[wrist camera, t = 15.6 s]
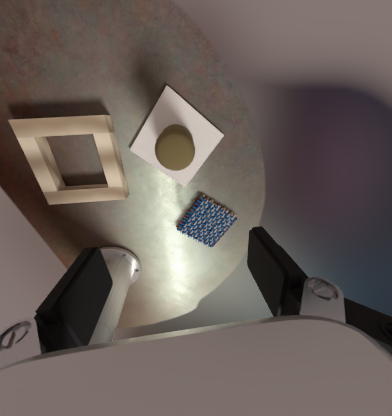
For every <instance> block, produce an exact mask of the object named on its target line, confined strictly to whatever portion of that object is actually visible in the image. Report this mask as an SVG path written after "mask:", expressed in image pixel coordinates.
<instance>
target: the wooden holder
mask: <svg viewBox="0 0 392 416" xmlns="http://www.w3.org/2000/svg"><path fill="white" fill-rule="evenodd" d="M9 123H10V125H11V127H12V129H13V131H14V133H15V135H16V137H17V139H18V141H19V143H20V145H21V147H22V150H23V152H24V154H25V156H26V158H27V160H28V162H29V164H30V166H31V168H32V170H33V172H34V175H35V177H36V179H37V181H38V183H39V185H40V187H41V189H42V191H43V193H44V195H45V197H46V199H47V202H48V204H49V205H53V204H66V203H79V202H93V201H106V200H119V199H126V198H127V197H128V195H129V190H128V186H127V182H126V178H125V174H124V169H123V165H122V161H121V157H120V153H119V149H118V145H117V140H116V136H115V132H114V128H113V124H112V120H111V116H110V115H93V116H73V117H54V118H35V119H15V120H9ZM78 134H93V135H94V139H95V142H96V146H97V149H98V153H99V156H100V159H101V163H102V166H103V170H104V173H105V176H106V180H107V183H108V184H94V185H80V186H65V183H64V181H63V178H62V176H61V174H60V171H59V169H58V166H57V164H56V161H55V159H54V156H53V154H52V152H51V149H50V147H49V144H48V142H47V139H46V137H45V136H60V135H78Z"/></svg>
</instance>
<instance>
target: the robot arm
mask: <svg viewBox="0 0 392 416" xmlns="http://www.w3.org/2000/svg"><path fill="white" fill-rule="evenodd" d="M247 264H248V268H249V270H250V272H251V274H252V276H253V278H254V280H255V281H256V283H257V285H258V287H259V289H260V291H261V293H262V295H263V297H264V299H265V301H266V303H267V304H268V307H269V309H270V310H271V312H272V314H273V316H274V317H271V318H262V319H255V320H247V321H241V322H235V323H227V324H220V325H214V326H207V327H200V328H194V329H187V330H181V331H174V332H168V333H162V334H156V335H149V336H142V337H136V338H130V339H124V340H118V341H112V339H113V336H114V333H115V330H116V327H117V324H118V320H119V317H120V314H121V311H122V308H123V305H124V301H125V298H126V295H127V292H128V289H129V285H130V284H132V283H133V282H135V281H136V280H137V278H138V277H139V275H140V271H141V265H140V262H139V260H138V258H137V257H136V256H135V255H134V254H132V253H131V252H130V251H128V250H126V249H123V248H119V247H103V248H99V249H98V248H97V247H89V248H85V249H84V250H83V251H82V252H81V254H80V255H79V256H78V257H77V259H76V260H75V261H74V263H73V264H72V265H71V266H70V268H69V269H68V270H67V272H66V273H65V274H64V275H63V277H62V278H61V279H60V281H59V282H58V283H57V285H56V286H55V287H54V288H53V290H52V291H51V292H50V294H49V295H48V296H47V297H46V299H45V300H44V301H43V302H42V304H41V305H40V306H39V308H38V309H37V310H36V313H37V314H36V316H35V317H34V318H24V319H21V320H18V321H16V322H14V323H12V324H11V325H9V326H8V327H6V328H5V329H4V330H3V331H1V332H0V416H392V317H390V316H388V315H385V314H383V313H380V312H378V311H376V310H373V309H371V308H368V307H366V306H363V305H361V304H358V303H356V302H353V301H351V300H349V299H346V298H344V297H343V294H342V292H341V290H340V289H339V288H338V287H337V286H336V285H335V284H333V283H332V282H330V281H328V280H326V279H324V278H320V277H310V278H309V277H308V276H307V275H306V274H305V273H304V272H303V271H302V270H301V268H300V267H299V266H298V265H297V264H296V263H295V262H294V261H293V260H292V258H291V257H290V256H289V255H288V254H287V253H286V252H285V250H284V249H283V248H282V247H281V246H279V245H278V244H277V243H276V242H275V241H274V240H273V238H272V237H271V236H270V235H269V234H268V233H267V232H266V230H265V229H264V228H263V227H253V228H252V230H250V231H249V243H248V259H247Z"/></svg>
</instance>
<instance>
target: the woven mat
mask: <svg viewBox="0 0 392 416" xmlns="http://www.w3.org/2000/svg"><path fill="white" fill-rule="evenodd" d="M204 197H205V194H203V195H201V196H199V199H198V198H197V200H198V201H197V202H196V201H195V205H194V204H193V207H191V208H190V209H191V210H188V211H189V213H186V214H187V216H186V215H185V216H184V217H185V218H183V219H182V220H183V221H180V222H181V224H180V223H179V224H178V225H179V226H176V227H178V228H177V230H179V231H180V232H182V234H183V233H185V234H186V235H188V237H189V236H191V237H190V238H192V237H193V239H197V240H198V242H199V241H200V243H202V242H203V243H204V245H205V244H206V246H207V245H208V247H213V246H214V245H215V244H216V242H217V241H218V240H219V239H220V238H221V237H222V236H223V235H224V233H225V232H226V231H227V230H228V228H230V225H231V226H232V224H233V223H234V221H235V220H237V218H236V217H235V216H236V214H235V215H234V216H233V212H230V213H228V211H229V209H227V210H226V207H225V208H222V209H221V206H220V205H219V206H217V204H216V203H213V202H214V200H211V201H208V199H209V197H208V198H207V199H206V198H204ZM201 200H203V201H201ZM200 203H201V204H200ZM206 203H208V204H206ZM211 205H212V206H211ZM198 206H199V207H198ZM204 206H205V207H204ZM208 208H209V209H208ZM196 209H197V210H196ZM225 210H226V211H225ZM206 211H207V212H206ZM213 211H214V212H213ZM216 213H218V214H216ZM198 214H199V215H198ZM226 215H227V216H226ZM189 217H190V218H189ZM218 218H219V219H218ZM206 219H207V220H206ZM233 219H234V220H233ZM188 220H189V221H188ZM222 220H223V221H222ZM216 221H217V222H216ZM198 222H199V223H198ZM219 222H220V223H221V224H220V223H219ZM231 222H232V223H231ZM214 223H215V224H214ZM195 224H196V225H195ZM217 225H218V226H217ZM194 227H195V228H194ZM197 240H196V241H197Z"/></svg>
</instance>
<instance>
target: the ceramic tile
mask: <svg viewBox="0 0 392 416" xmlns="http://www.w3.org/2000/svg"><path fill="white" fill-rule="evenodd" d="M173 124H179V125H182V126H184V127H186V128H187V129H188V130H189V131H190V133H191V134H192V137H193V142H194V146H195V156H194V159H193V161H192V162H191V164H190V165H189V166H188V167H186V168H185V169H182V170H179V171H172V170H169V169H166V168H165V167H164V166H162V165H161V164H160V162H159V161H158V160H157V157H156V155H155V143H156V140H157V138H158V137H159V135H160V134H161V133H162V132H163V130H164V129H165V128H166V127H168V126H170V125H173ZM223 136H224V135H223V134H222V133H221V132H220V131H219V130H218V129H216V128H215V127H214V126H213V125H212V124H211V123H210V122H208V121H207V120H206V119H205V118H204V117H203V116H202V115H200V114H199V113H198V112H197V111H196V110H195V109H194V108H192V107H191V106H190V105H189V104H188V103H187V102H186V101H184V100H183V99H182V98H181V97H180V96H179V95H178V94H177V93H175V92H174V91H173V90H172V89H171V88H170V87H169V86H166V88H165V89H164V91H163V93H162V95H161V96H160V98H159V100H158V102H157V103H156V105H155V107H154V109H153V110H152V112H151V114H150V115H149V117H148V119H147V121H146V122H145V124H144V126H143V128H142V129H141V131H140V133H139V135H138V136H137V138H136V140H135V142H134V143H133V145H132V147H131V149H130V150H131V151H132V152H134V153H135V154H137V155H138V156H140V157H141V158H143V159H144V160H145V161H147V162H148V163H150V164H151V165H153V166H154V167H156V168H157V169H159V170H160V171H162V172H163V173H165V174H166V175H168V176H169V177H171V178H172V179H174V180H175V181H176V182H178V183H179V184H181V185H182V186H184V187H185V186H186V185H187V184H188V182H189V181H190V180H191V179H192V177H193V176H194V175H195V173H196V172H197V171H198V169H199V168H200V167H201V165H202V164H203V163H204V161H205V160H206V159H207V157H208V156H209V155H210V153H211V152H212V151H213V149H214V148H215V147H216V145H217V144H218V143H219V141H220V140H221V139H222V137H223Z"/></svg>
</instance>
